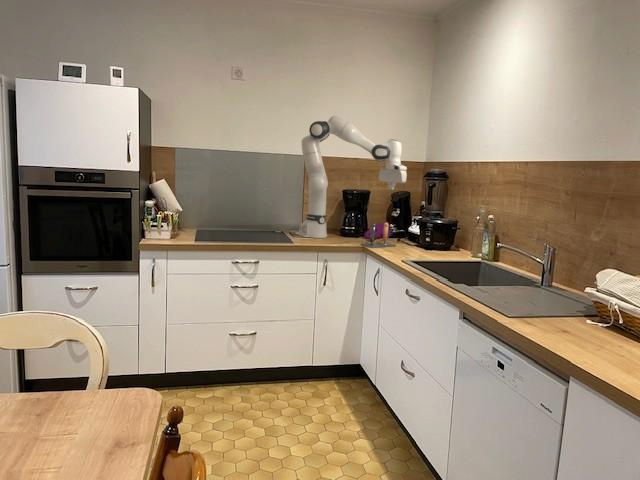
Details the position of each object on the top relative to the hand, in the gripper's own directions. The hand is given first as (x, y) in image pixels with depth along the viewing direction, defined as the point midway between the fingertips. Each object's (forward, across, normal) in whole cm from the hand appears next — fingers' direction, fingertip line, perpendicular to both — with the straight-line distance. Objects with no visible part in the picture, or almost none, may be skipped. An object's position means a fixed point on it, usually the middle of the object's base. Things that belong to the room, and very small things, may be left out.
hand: (391, 189), depth 290 cm
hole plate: (+33, +7, -14) cm, 37 cm away
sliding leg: (+31, +7, -10) cm, 33 cm away
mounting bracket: (+34, -18, +8) cm, 39 cm away
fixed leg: (+32, +7, -20) cm, 38 cm away
